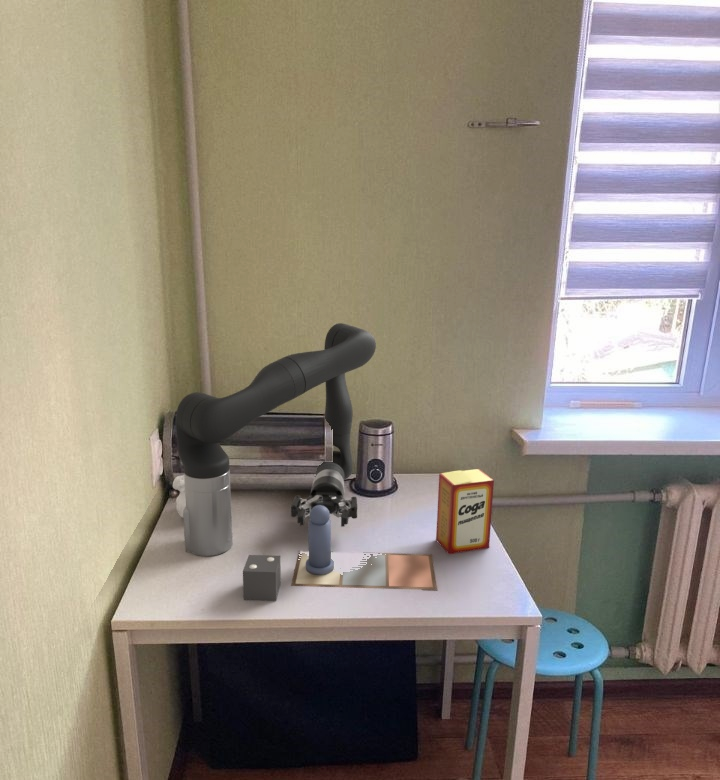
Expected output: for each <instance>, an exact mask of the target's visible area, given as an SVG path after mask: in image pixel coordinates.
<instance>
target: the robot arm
mask: <svg viewBox="0 0 720 780" xmlns="http://www.w3.org/2000/svg"><path fill="white" fill-rule="evenodd" d="M376 349H377V341H376V339H375V336H373V335H372V333H370V332H369V331H367V330H365V329H363V328H359V327H356V326H353V325H350V324H346V323H343V322H342V323H341V322H340V323H336V324H333V325H332V326H331V327H330V328H329V330H328V331H327V332H326V336H325V339H324V349H321V350H313V351H303V352H298V353H292V354H288V355H286V356H284V357H281V358H279V359H277V360H275V361H273V362H271V363H269V364H267V365H265V366H264V367H262V368H261V369H260V370H259V371H258V373H257V374H256V376H255V377H254V378H253V380H252V381H251V382H250V384H249V385H248V386H246V387H244V388H242V389H241V390H239V391H237V392H234V393H232V394H230V395H227V396H223V397H216V396H213V395H211V394H207V393H203V392H199V391H198V392H191V393H189V394H186V395H185V396H184V397H183V398H182V399H181V400H180V401H179V404H178V406H177V408H176V413H175V432H176V441H177V449H178V456H179V459H180V462H181V463H182V466H183V475H184V481H185V498H186V506H185V508H184V509H183V518H182V519H183V534H184V535H183V536H184V550H185V552H186V553H187V552H188V553H192V554H193V555H196V556H201V557H206V556H207V557H210V556H211V557H212V556H217V555H221V554H223V553H225V552H228V551H229V550H230V549H231V548H232V547H233V523H232V521H233V519H232V495H231V473H230V468H231V467H230V457H229V455H228V454H227V452H226V451H225V450H224V449H223V447H222V446H221V443H222V442H223V441H226V440H227V439H229V438H230V437H233V435H235V434H236V433H237V432H239V431H241V430H242V429H243V428H245V427H246V426H248V425H249V424H250V423H252V422H254V421H255V420H257V419H258V418H260V417H261V416H264V415H265V414H269V412H271V411H273V410H275V409H277V408H278V407H280V406H282V405H284V404H286V403H288V402H290V401H292V400H294V399H296V398H298V397H300V396H302V395H303V394H305V393H307V392H308V391H310V390H312V389H314V388H317V387H318V386H320V385H322V384H325V407H324V416H325V419H326V421H327V422H328V423H329V425H330V426H331V430H332V429H333V445H332V446H333V447H336V448H338V450H333V462H323V463H322V464H321V465H319V467H318V468H317V471H316V476H314V479H313V481H312V485H311V489H310V493H309V496H308V497H306V498H301V495H299V494H298V495H297V494H296V495H295V496H294V498H293V501H292V502H291V504H290V517H292V518H296V517H297V518H296V520H297V521H296V522H297V524H299V526H301V527H302V526H304V525H305V522H306V518H307V517H309V518H310V511H311V509H312V508H313V507H315V506H317V505H322V506H325V507H326V508H327V509H328V510H329V513H330V515H333V516H335V517H336V518H338V519H339V518H340V527H342V528H344V527H346V526H345V525H348V524H349V519H350V518H351V519H355V520H356V519H357V518H358V498H357V497H356V496H352V497H351V498H350V499H345V498H344V495H345V480H347V479H348V478H349V477H350V476H351V475H352V472H353V468H354V464H353V462H354V461H353V457H352V456H353V455H352V449H351V432H352V424H353V417H354V416H353V412H354V411H353V405H352V400H351V397H350V393H349V390H348V385H347V381H346V373H349V372H351V371H354V370H357V369H359V368H361V367H363V366H364V365H366V364H367V363H369V361H370V360H371V359H372V358H373V356H374V354H375V352H376Z"/></svg>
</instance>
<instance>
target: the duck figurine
mask: <svg viewBox="0 0 720 780" xmlns="http://www.w3.org/2000/svg"><path fill="white" fill-rule="evenodd" d="M172 488H173V489H174V490H177V491H179V495H178V496H177V497H176V500H175V501H176V507H175V508H176V512H177V513H178V515H179V516H180V517H181V518H182V519H183V509H184V508H185V506H186V498H185V481H184V474H182V475H178V476H176V477H175V478H174V480H173V482H172Z"/></svg>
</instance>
